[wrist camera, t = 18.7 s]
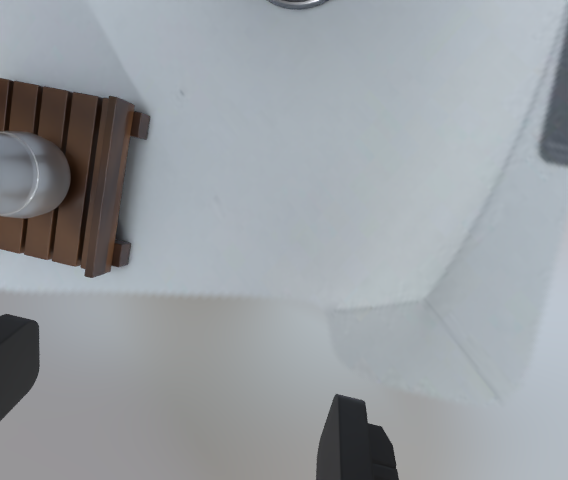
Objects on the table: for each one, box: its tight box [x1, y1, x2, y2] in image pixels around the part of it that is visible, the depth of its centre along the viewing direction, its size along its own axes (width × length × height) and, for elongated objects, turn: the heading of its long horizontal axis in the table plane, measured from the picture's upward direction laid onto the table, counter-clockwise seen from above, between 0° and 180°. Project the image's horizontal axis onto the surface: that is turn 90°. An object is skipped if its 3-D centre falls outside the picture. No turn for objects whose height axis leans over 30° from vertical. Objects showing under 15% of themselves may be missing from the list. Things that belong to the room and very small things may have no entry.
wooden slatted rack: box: [0, 78, 150, 278], centre depth 35 cm, size 14×14×4 cm
